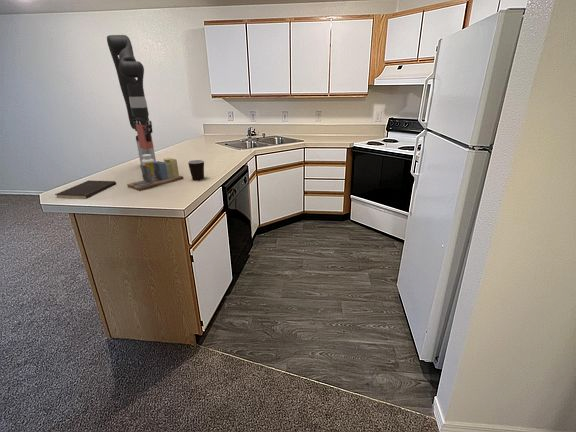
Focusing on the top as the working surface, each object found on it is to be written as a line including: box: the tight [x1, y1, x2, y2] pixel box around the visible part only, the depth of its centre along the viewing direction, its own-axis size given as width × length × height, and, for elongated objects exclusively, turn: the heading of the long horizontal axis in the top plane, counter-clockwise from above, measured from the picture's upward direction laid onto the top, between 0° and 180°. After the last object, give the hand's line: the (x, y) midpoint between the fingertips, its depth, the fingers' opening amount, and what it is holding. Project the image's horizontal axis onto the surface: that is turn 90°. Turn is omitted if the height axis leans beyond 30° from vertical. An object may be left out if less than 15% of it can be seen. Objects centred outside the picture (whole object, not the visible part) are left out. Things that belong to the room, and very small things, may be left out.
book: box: [135, 124, 154, 149], centre depth 157 cm, size 6×4×12 cm, turn 53°
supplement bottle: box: [142, 154, 155, 178], centre depth 177 cm, size 7×7×13 cm
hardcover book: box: [54, 180, 117, 199], centre depth 157 cm, size 16×23×2 cm
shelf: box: [126, 157, 184, 192], centre depth 166 cm, size 12×26×11 cm, turn 143°
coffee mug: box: [187, 159, 205, 182], centre depth 174 cm, size 12×9×10 cm
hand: (145, 140), depth 158 cm, fingers closed on book, 6 cm apart
